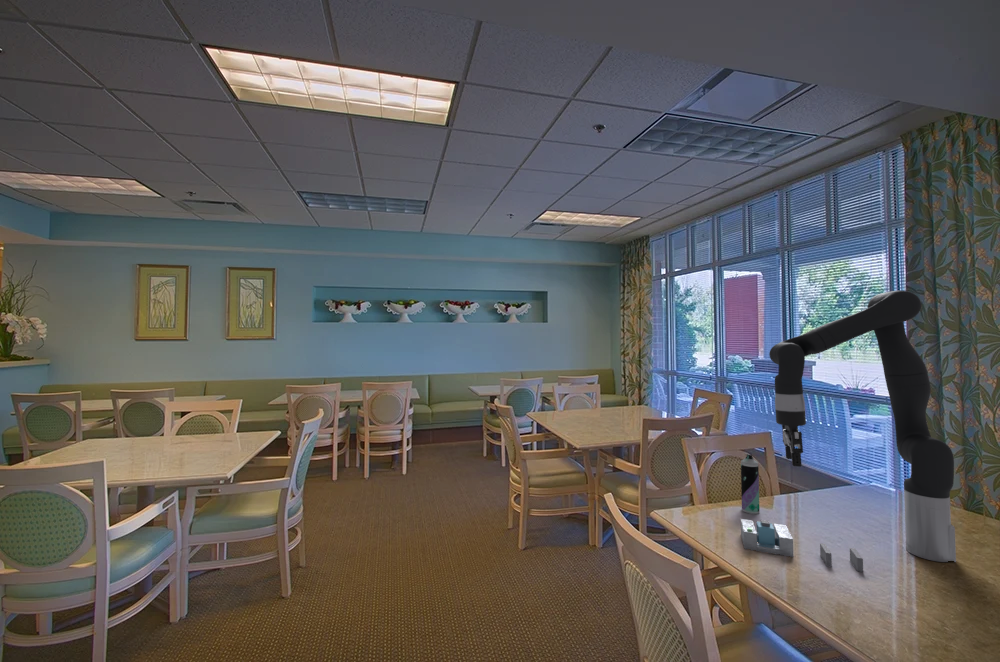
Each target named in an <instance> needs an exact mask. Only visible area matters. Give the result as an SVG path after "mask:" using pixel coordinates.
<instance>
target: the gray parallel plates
mask: <svg viewBox="0 0 1000 662" xmlns="http://www.w3.org/2000/svg"><path fill="white" fill-rule="evenodd" d="M819 549H820V550H819V553H820V554H819V555H820V558H821V559H822V561H823V563H824V564H825V566H826V567H830V568H831V567H833V565H832V564H833V563H832V562H833V561H832V552H831V551H830V549H829V548H828V546H827V545H826V543H822V542H820V543H819ZM849 562H851V563H850V564H852V566H853V567H854V568H855V570H856V571H857V572H859V573H860V572H861V573H864V558H863V557H862V555H861V554H860V553H859V552H858V551H857V549H856V548H854V547H849Z"/></svg>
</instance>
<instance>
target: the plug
mask: <svg viewBox="0 0 1000 662" xmlns="http://www.w3.org/2000/svg"><path fill="white" fill-rule="evenodd" d="M756 532H757V542H758V543H762V544H768V545H774V546H776V544H775V529H774V526H773V523H771V522H770V521H769V520H765V519H760V521H756Z"/></svg>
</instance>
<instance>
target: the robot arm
mask: <svg viewBox="0 0 1000 662" xmlns="http://www.w3.org/2000/svg"><path fill="white" fill-rule="evenodd" d="M921 302H922V301H921V299H920V298H919V297H918V295H917V294H915V293H914V292H912V291H908V290H892V291H887V292H882V293H879V294H876V295H874V296H873V297H871V298H870V300H869V301H868V304H867V308H866V309H864V310H861V311H858V312H856V313H854V314H851V315H848V316H844V317H842V318H839V319H835V320H833V321H831V322H827V323H825V324H822V325H819V326H818V327H815V328H813V329H811V330H809V331H807V332H805V333H803V334H800V335H797V336H794V337H791V338H787V339H786V340H783V341H780V342H779V343H776V344H774V345H773V346H772V347H771V348H770V350H769V358H770V360H771V361H772V363H774V364H776V365H778V371H777V372H778V373H777V374H776V376H775V377H774V394H775V395H774V406H775V407H774V408H775V409H774V410H775V422H776V424H778V425H781V428H782V430H781V432H782V443H783V445H784V448H785V458H786V459H788V460H791V464H792V466H793V467H799V468H800V467H802V455H801V454H804V448H803V433H802V432H801V431H799V428H798V427H803V426H806V424H807V419H806V404H805V403H806V402H805V398H804V390H803V377H804V376H803V375H804V372H805V371H804V370H805V362H806V358H805V357H807V356H810V355H817V354H821V353H824V352H825V351H828V350H831V349H832V348H835V347H837V346H839V345H842V344H843V343H845V342H849V341H850V340H854V339H855V338H857V337H860V336H861V335H864V334H867V333H870V332H872V331H873V332H874V334H875V337H876V338H875V339H876V341H877V345H878V350H879V355H880V359H881V362H882V369H883V376H884V379H885V384H886V388H887V392H888V396H889V400H890V405H891V410H892V413H893V414H892V415H893V418H894V429H895V439H896V441H895V442H896V449H897V452H898V454H899V456H900V457H901V458H902V459H903V460H904V461H906V462H907V463H909V464H911V471H910V473H911V474H910V477H908V478H905V479H904V481H903V492H904V493H903V494H904V495H903V497H904V498H903V499H904V523H905V524H904V525H905V528H904V529H905V548H906V551H907V552H909V553H910V554H911V555H914V556H915V557H919V558H922V559H925V560H929V561H933V562H938V563H949V562H948V561H954V562H953V563H956V562H957V553H956V552H957V550H956V528H955V526H954V525H952V521H951V520H952V518H951V517H952V515H951V490H952V488H953V486H954V479H955V477H954V475H955V459H954V458H955V457H954V453H953V451H952V449H951V447H950V446H949V445H948V444H947V443H945V442H944V441H942V440H940V439H938V438H935V437H932V436H931V433H930V431H929V427H928V422H927V407H928V404H929V401H930V396H931V383H930V377H929V373H928V368H927V366H926V364H925V362H924V361H923V359H922V358H921V356H920V354H919V353H918V352H917V350H916V349H915V348H914V347H913V345H912V344H911V343H910V340H909V339H908V336H907V333H906V328H905V322H908V321H910V320H912V319H913V318H915V317H917V315H918V314H919V313H920V311H921V309H922V303H921ZM796 447H797V448H796Z"/></svg>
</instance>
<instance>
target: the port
mask: <svg viewBox="0 0 1000 662" xmlns="http://www.w3.org/2000/svg"><path fill="white" fill-rule="evenodd" d="M772 525H773V527H774V529H775V546H774V545H768V544H762V543H757V528H756V527H755V523H754V521H753V520H751V519H746V518H740V536H741V541H742V544H743V548H744V550H747V549H751V550H750V551H753V550H756V551H755V552H759V551H761V553H765V552H768V553H767V554H771V553H774V554H773V555H777V554H780V555H779V556H783V555H784V557H789V556H790V558H791V557H792V558H794V539H793V536H792V534H791V531H790V530H789V528H788V526H787V525H786V524H780V523H772Z"/></svg>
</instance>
